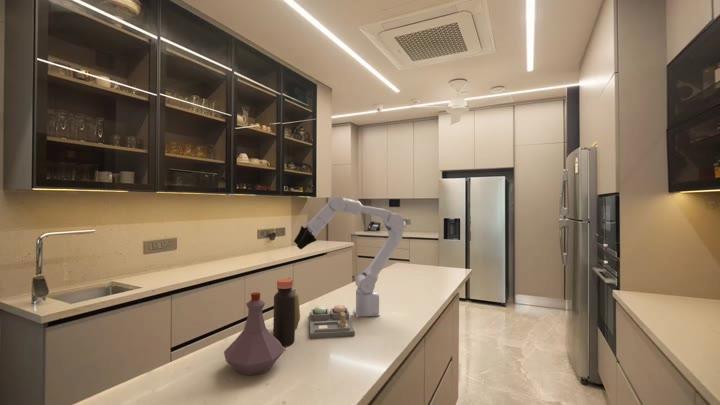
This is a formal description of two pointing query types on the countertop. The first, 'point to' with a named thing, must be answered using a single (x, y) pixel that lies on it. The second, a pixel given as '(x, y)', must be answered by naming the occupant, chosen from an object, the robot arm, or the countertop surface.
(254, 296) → the flask
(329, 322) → the panel
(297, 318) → the squeeze bottle
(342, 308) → the pink button
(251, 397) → the countertop surface
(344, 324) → the tan wooden step block
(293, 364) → the countertop surface
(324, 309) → the mint button
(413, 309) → the countertop surface
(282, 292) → the vinegar
